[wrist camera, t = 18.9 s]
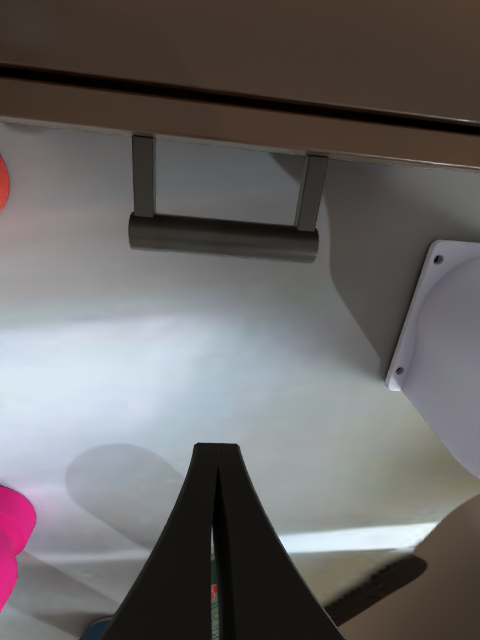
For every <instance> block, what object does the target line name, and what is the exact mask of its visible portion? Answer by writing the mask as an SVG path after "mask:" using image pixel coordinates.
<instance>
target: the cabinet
mask: <svg viewBox="0 0 480 640" xmlns="http://www.w3.org/2000/svg"><path fill="white" fill-rule="evenodd" d="M26 70H29V71H37V72H45V73H53V74H61V75H69V76H77V77H85V78H93V79H101V80H109V81H117V82H125V83H133V84H141V85H149V86H156V87H164V88H172V89H180V90H188V91H196V92H204V93H212V94H220V95H228V96H236V97H244V98H252V99H260V100H268V101H276V102H284V103H292V104H300V105H307V106H315V107H323V108H331V109H339V110H347V111H355V112H363V113H371V114H379V115H387V116H395V117H403V118H411V119H419V120H421V121H420V125H419V127H421V128H429V129H438V130H446V131H454V132H462V133H470V134H478V135H480V0H0V76H8V77H16V78H24V79H27V74H26Z"/></svg>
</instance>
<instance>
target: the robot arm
mask: <svg viewBox="0 0 480 640" xmlns="http://www.w3.org/2000/svg"><path fill="white" fill-rule="evenodd" d="M438 255H439V259H438V261H436V262H434V258H435V257H436V256H438ZM400 367H401V368H400ZM398 368H400V370H398V371H396V370H397V369H398ZM385 384H386V386H387V388H388V389H390V390H396V391H403V393H404V394H405V395H406V397H407V398H408V399H409V400H410V402H411V403H412V404H413V405H414V407H415V408H416V409H417V411H418V412H419V413H420V414H421V416H422V417H423V418H424V419H425V421H426V422H427V423H428V425H429V426H430V427H431V428H432V430H433V431H434V432H435V433H436V435H437V436H438V437H439V439H440V440H441V441H442V442H443V444H444V445H445V446H446V447H447V449H448V450H449V451H450V453H451V454H452V455H453V456H454V458H455V459H456V460H457V461H458V462H459V463H460V464H461V465H462V466H463V467H464V468H465V469H467V470H468V471H469V472H470V473H471V474H473V475H474V476H475V477H477V478H478V479H479V480H480V243H474V242H463V241H452V240H437V241H435V242H433V243H432V244H431V246H430V248H429V250H428V253H427V256H426V259H425V262H424V265H423V268H422V271H421V274H420V277H419V281H418V284H417V287H416V290H415V293H414V296H413V299H412V302H411V305H410V308H409V311H408V314H407V317H406V320H405V323H404V326H403V329H402V332H401V335H400V338H399V341H398V344H397V347H396V350H395V353H394V356H393V359H392V362H391V365H390V368H389V371H388V374H387V377H386V380H385ZM212 529H213V543H214V558H215V572H216V586H217V600H218V621H219V640H347V639H346V638H345V637H344V635H343V634H342V633H341V632H340V630H339V629H338V627H337V626H336V625H335V623H334V622H333V621H332V619H331V618H330V616H329V615H328V614H327V612H326V611H325V609H324V608H323V607H322V605H321V604H320V603H319V601H318V600H317V598H316V597H315V596H314V594H313V593H312V591H311V590H310V588H309V587H308V585H307V584H306V582H305V581H304V579H303V578H302V576H301V574H300V573H299V571H298V570H297V568H296V567H295V565H294V563H293V562H292V560H291V558H290V557H289V555H288V553H287V552H286V550H285V548H284V547H283V545H282V543H281V541H280V539H279V538H278V536H277V534H276V532H275V530H274V528H273V526H272V525H271V523H270V521H269V519H268V517H267V515H266V513H265V511H264V509H263V507H262V504H261V502H260V500H259V498H258V496H257V494H256V491H255V489H254V487H253V484H252V482H251V479H250V477H249V474H248V472H247V469H246V466H245V464H244V461H243V457H242V454H241V451H240V447H239V446H238V445H237V444H229V443H197V444H195V445H194V448H193V454H192V458H191V462H190V466H189V469H188V472H187V475H186V478H185V481H184V483H183V486H182V488H181V491H180V493H179V496H178V498H177V501H176V503H175V506H174V508H173V510H172V512H171V514H170V516H169V519H168V521H167V523H166V525H165V527H164V529H163V531H162V533H161V535H160V537H159V539H158V541H157V543H156V545H155V547H154V549H153V551H152V553H151V554H150V556H149V558H148V560H147V562H146V563H145V565H144V567H143V569H142V570H141V572H140V574H139V576H138V577H137V579H136V581H135V582H134V584H133V586H132V587H131V589H130V591H129V592H128V594H127V596H126V597H125V599H124V600H123V602H122V604H121V605H120V607H119V608H118V610H117V612H116V613H115V615H114V616H113V618H112V619H111V621H110V622H109V624H108V625H107V627H106V628H105V630H104V631H103V632H102V634H101V635H100V637H99V638H98V640H212V618H211V532H212Z"/></svg>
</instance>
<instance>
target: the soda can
mask: <svg viewBox="0 0 480 640" xmlns="http://www.w3.org/2000/svg"><path fill="white" fill-rule="evenodd" d="M112 618H113V617H106V618H102V619H99V620H97V621H95V622H93V623H92V624H91V625H90V626H89V627H88V628H87V630H86V631H85V632H84V633H83V635H82V636H81V637H80V639H79V640H98V638H99V637H100V635H101V634H102V632H103V631H104V630H105V628H106V627H107V625H108V624H109V622H110V621H111V619H112Z"/></svg>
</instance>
